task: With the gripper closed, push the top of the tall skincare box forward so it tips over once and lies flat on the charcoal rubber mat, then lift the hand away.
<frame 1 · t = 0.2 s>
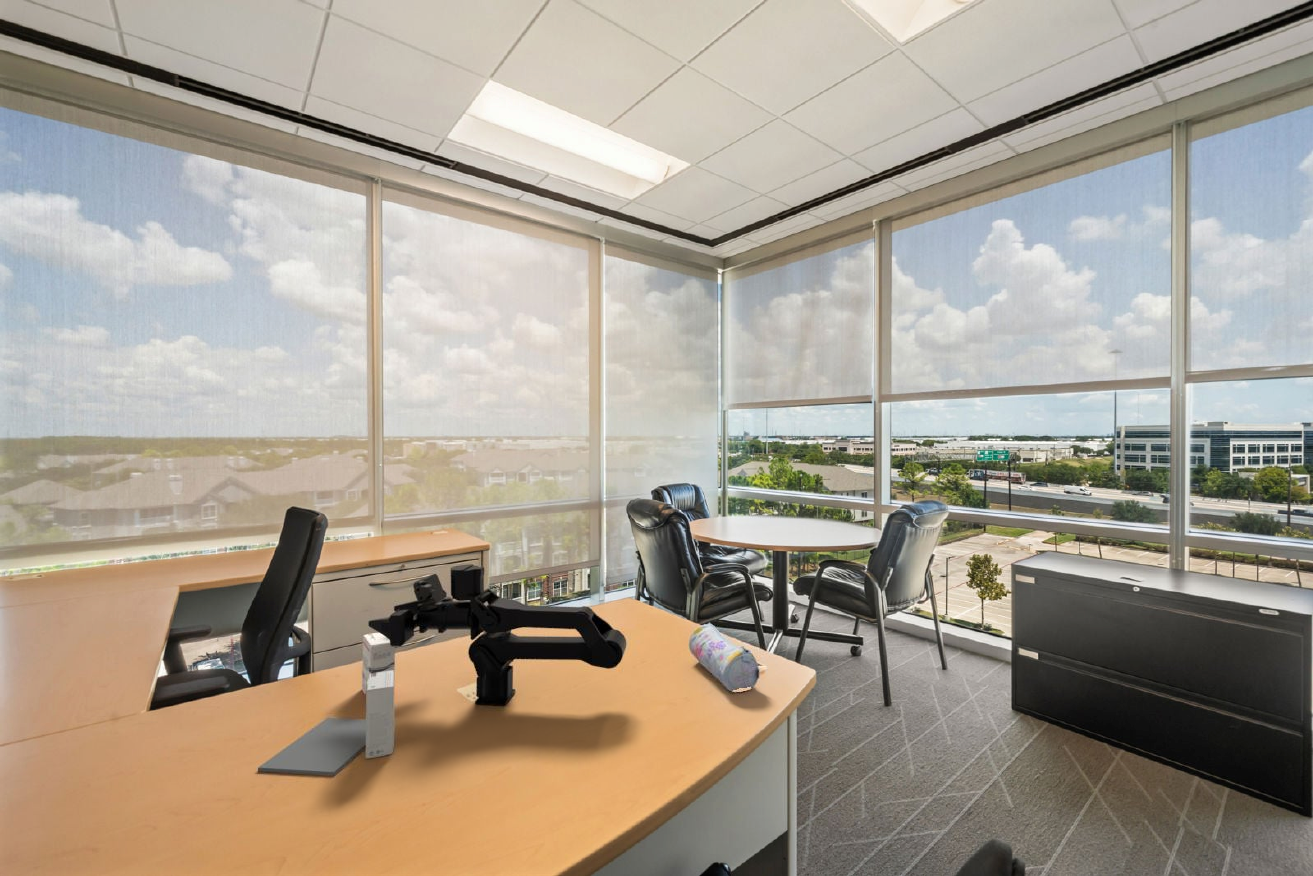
hand: (382, 615, 113), 16 cm above the table, tool horizontal, fingers open, 9 cm apart
ink box: (377, 694, 113), on the table
skincare box: (379, 747, 92), on the table, touching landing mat
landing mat: (330, 745, 92), on the table
pencil case: (721, 677, 123), on the table
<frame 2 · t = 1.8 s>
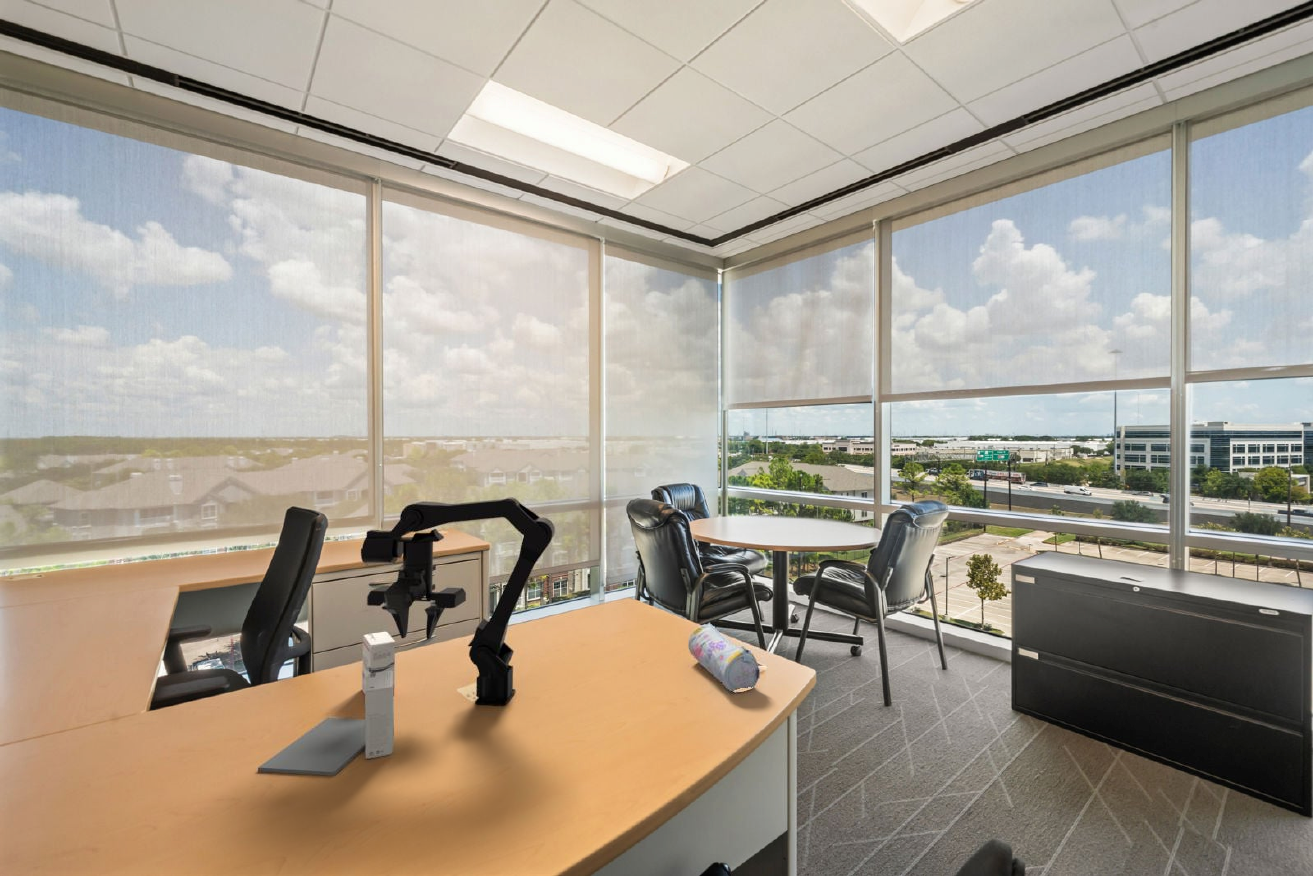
hand: (416, 638, 109), 13 cm above the table, tool pointing down, fingers open, 5 cm apart
nothing on the table moved.
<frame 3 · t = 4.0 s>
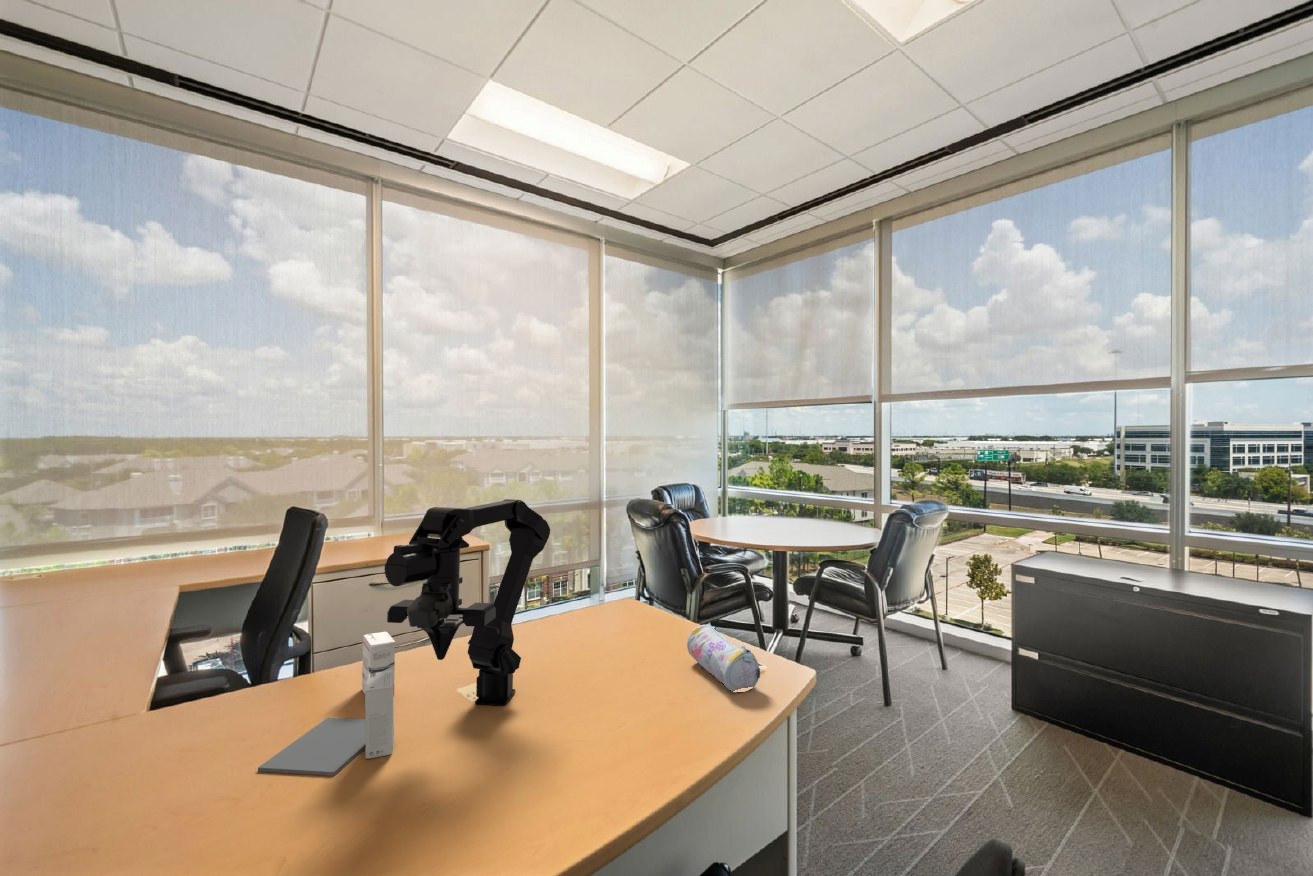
hand: (441, 659, 98), 13 cm above the table, tool pointing down, fingers closed
nothing on the table moved.
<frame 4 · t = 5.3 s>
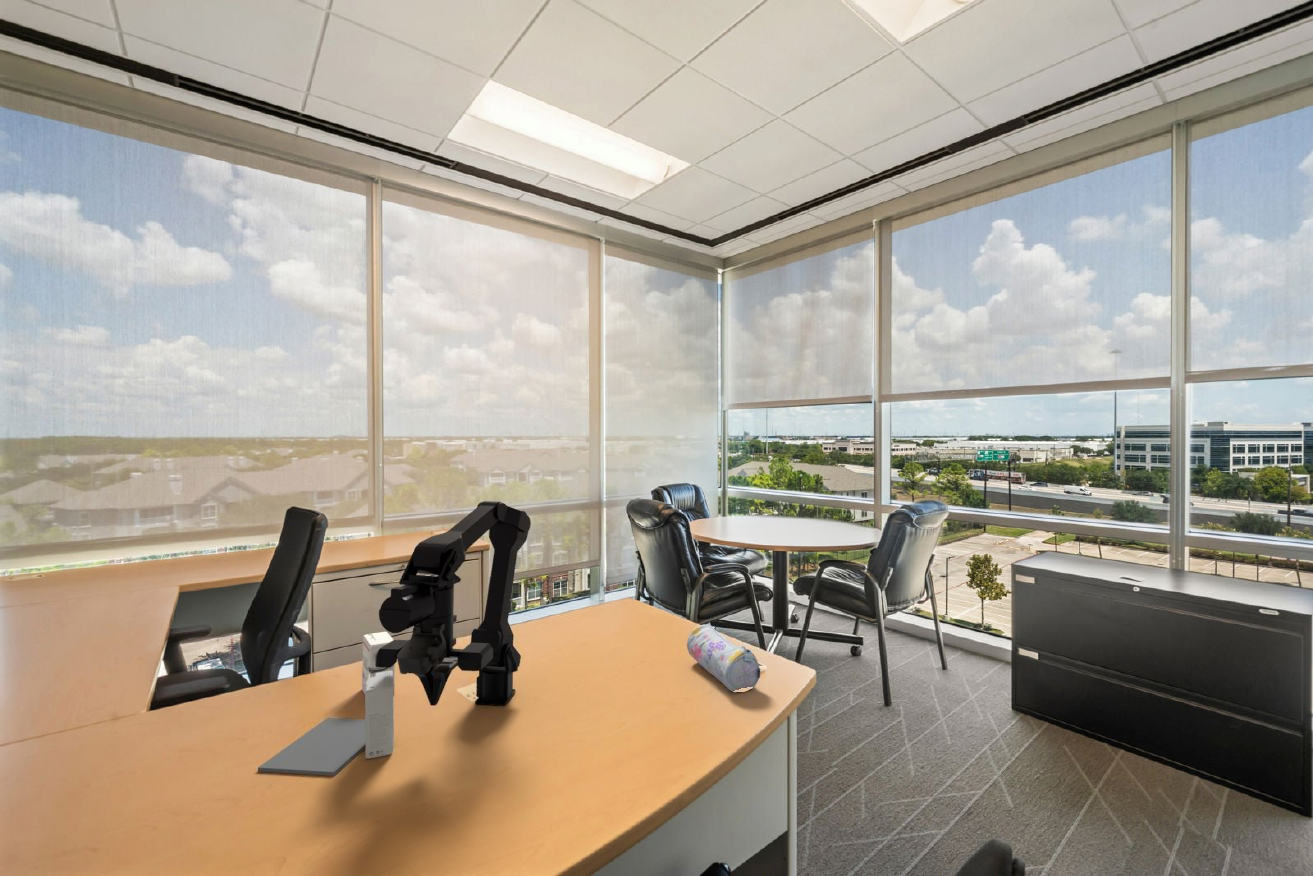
hand: (434, 704, 91), 8 cm above the table, tool pointing down, fingers closed
nothing on the table moved.
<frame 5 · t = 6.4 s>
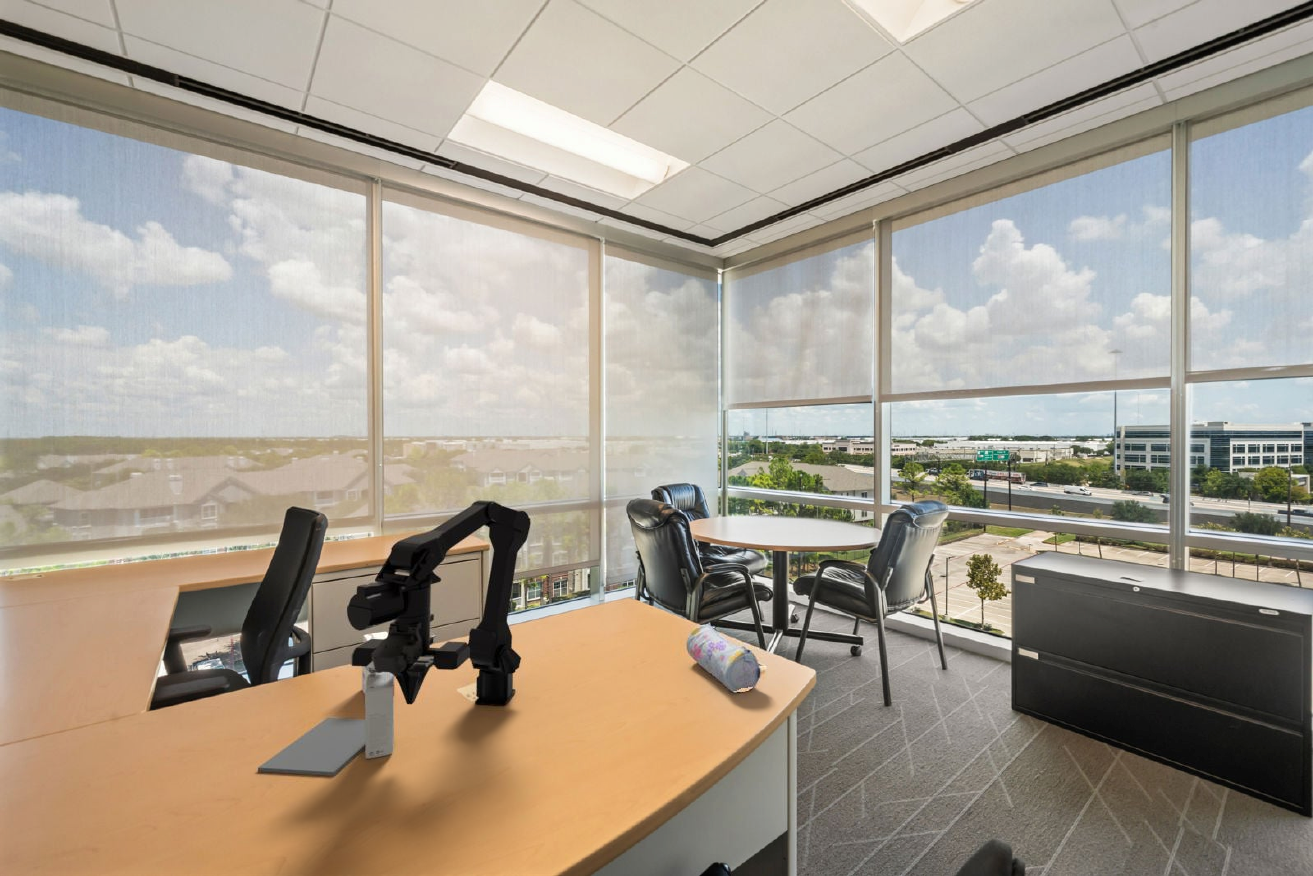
hand: (410, 703, 91), 8 cm above the table, tool pointing down, fingers closed
skincare box: (379, 747, 92), on the table, touching gripper, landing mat
everything else where it was.
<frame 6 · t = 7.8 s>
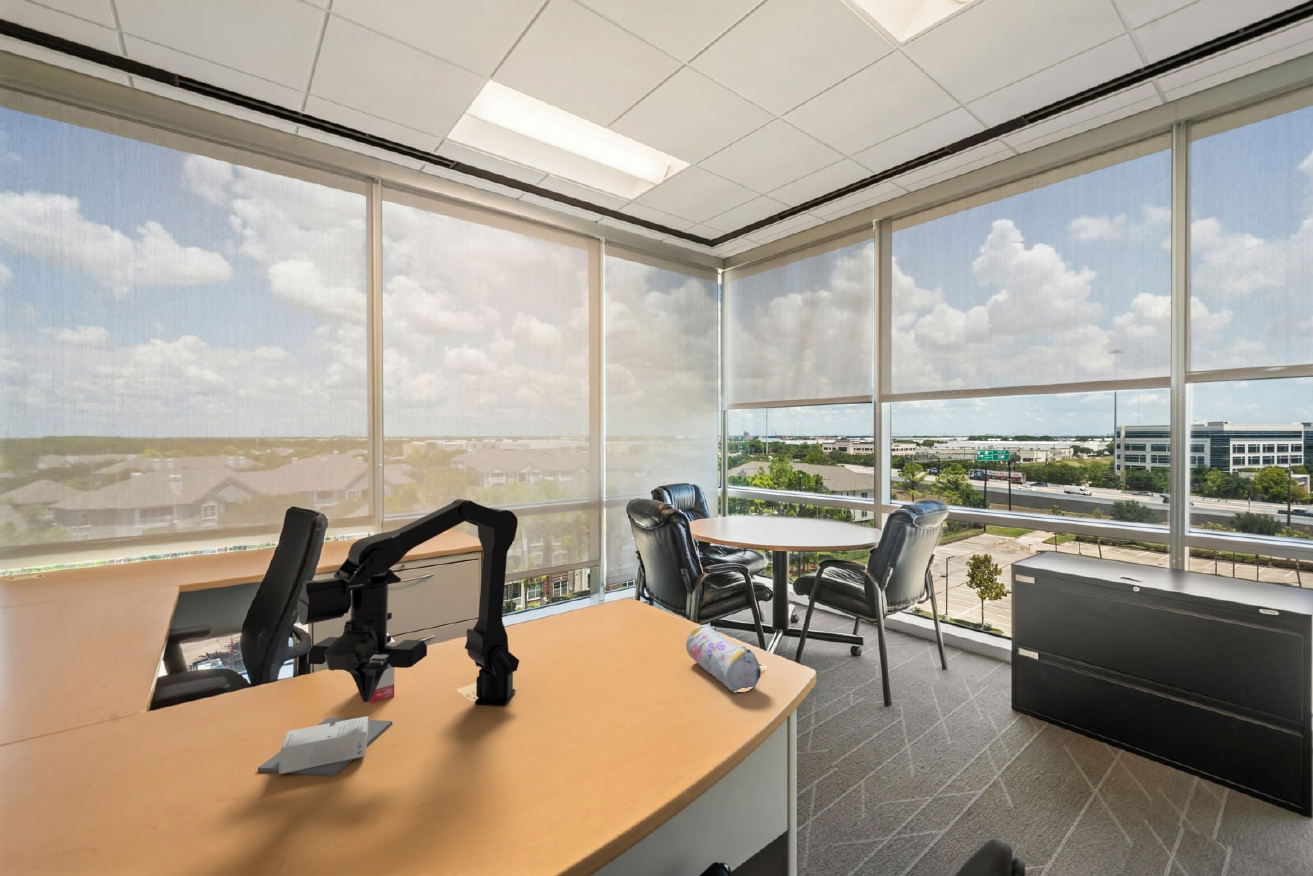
hand: (367, 701, 92), 8 cm above the table, tool pointing down, fingers closed
skincare box: (368, 735, 91), point 3 cm above the table, touching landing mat
everything else where it was.
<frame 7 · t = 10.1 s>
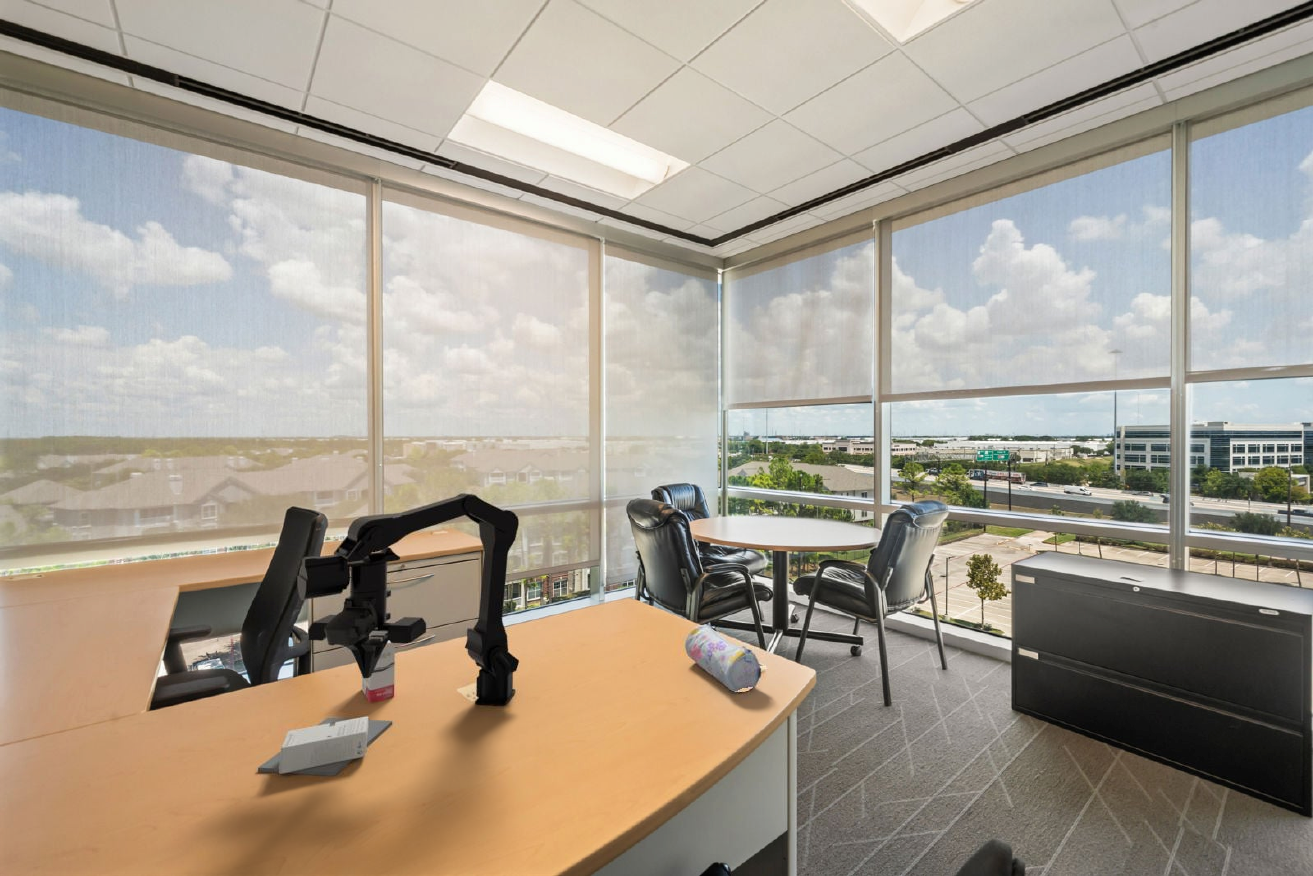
hand: (367, 677, 93), 12 cm above the table, tool pointing down, fingers closed
nothing on the table moved.
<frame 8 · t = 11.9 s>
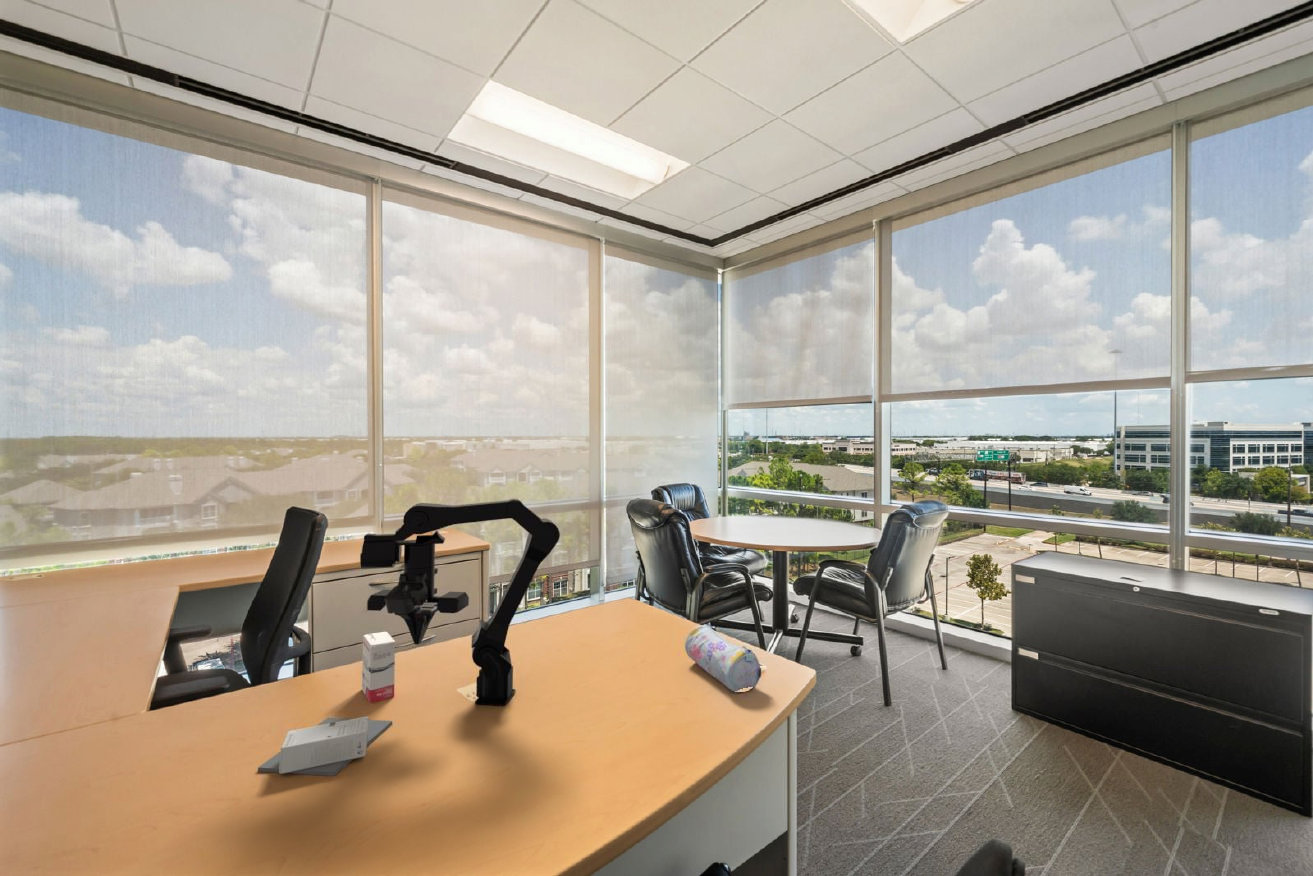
hand: (417, 643, 106), 13 cm above the table, tool pointing down, fingers closed
nothing on the table moved.
at the end: skincare box tilted 89°; skincare box touching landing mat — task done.
